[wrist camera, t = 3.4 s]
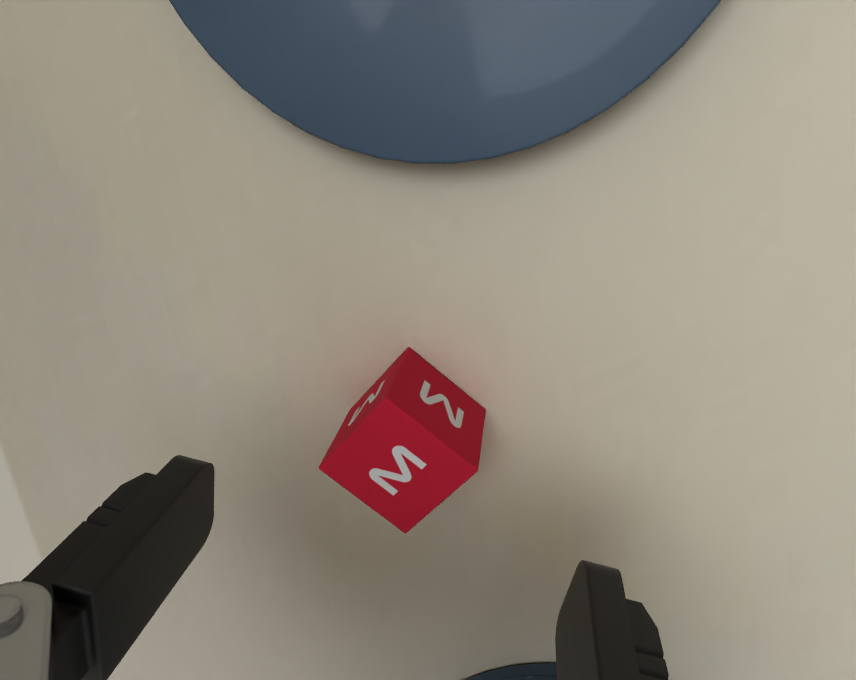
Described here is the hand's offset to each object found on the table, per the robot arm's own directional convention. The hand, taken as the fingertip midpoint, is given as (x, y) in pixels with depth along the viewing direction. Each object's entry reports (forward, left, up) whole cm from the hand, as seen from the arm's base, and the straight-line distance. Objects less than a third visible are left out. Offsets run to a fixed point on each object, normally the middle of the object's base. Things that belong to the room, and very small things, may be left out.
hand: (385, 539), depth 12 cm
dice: (0, 0, -6) cm, 6 cm away
